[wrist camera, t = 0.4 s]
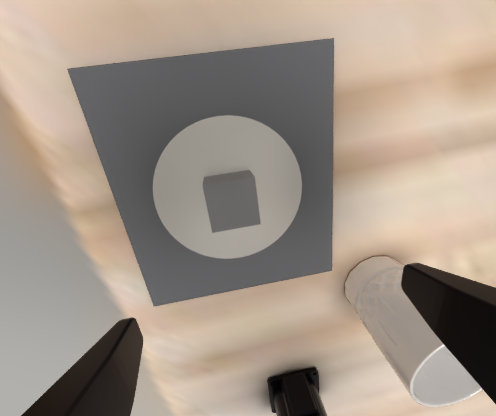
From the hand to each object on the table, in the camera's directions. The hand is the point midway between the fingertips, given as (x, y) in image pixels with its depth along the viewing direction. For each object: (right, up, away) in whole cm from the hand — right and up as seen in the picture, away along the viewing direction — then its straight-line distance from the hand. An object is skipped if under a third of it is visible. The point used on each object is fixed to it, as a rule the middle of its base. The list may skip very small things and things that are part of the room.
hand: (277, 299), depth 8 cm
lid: (-2, +4, +12) cm, 13 cm away
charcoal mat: (-3, +5, +12) cm, 13 cm away
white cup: (+13, -5, +18) cm, 23 cm away
